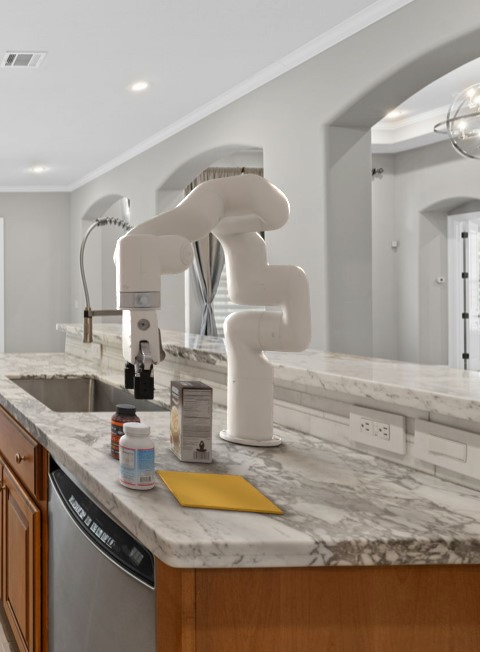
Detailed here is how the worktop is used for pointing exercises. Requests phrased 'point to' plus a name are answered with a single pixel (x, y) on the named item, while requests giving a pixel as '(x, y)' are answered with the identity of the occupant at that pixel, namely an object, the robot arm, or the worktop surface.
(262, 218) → the robot arm
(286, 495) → the worktop surface
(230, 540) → the worktop surface
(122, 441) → the pill bottle
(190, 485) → the cloth
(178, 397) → the coffee box
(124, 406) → the supplement bottle
